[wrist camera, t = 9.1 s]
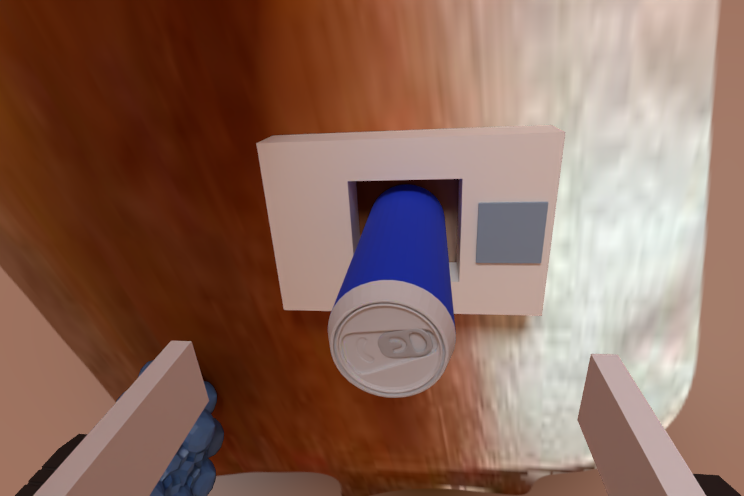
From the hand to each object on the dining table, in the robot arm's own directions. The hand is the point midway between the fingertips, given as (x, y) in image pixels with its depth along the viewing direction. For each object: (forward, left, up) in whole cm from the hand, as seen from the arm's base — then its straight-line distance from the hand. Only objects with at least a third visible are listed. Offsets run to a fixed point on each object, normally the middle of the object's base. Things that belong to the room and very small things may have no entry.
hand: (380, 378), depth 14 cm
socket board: (0, 0, -17) cm, 17 cm away
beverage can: (0, 0, -17) cm, 17 cm away
